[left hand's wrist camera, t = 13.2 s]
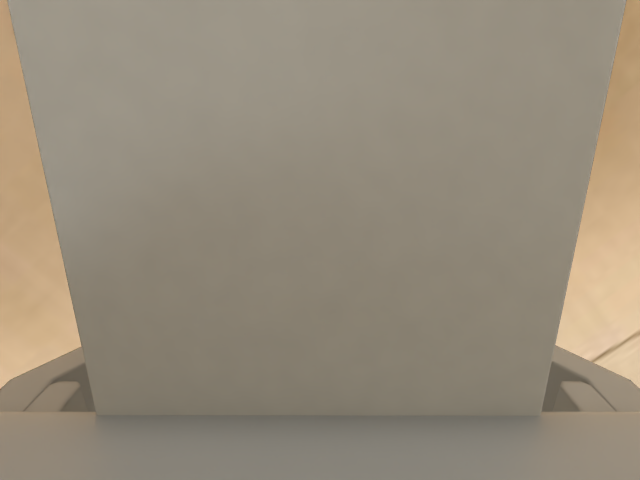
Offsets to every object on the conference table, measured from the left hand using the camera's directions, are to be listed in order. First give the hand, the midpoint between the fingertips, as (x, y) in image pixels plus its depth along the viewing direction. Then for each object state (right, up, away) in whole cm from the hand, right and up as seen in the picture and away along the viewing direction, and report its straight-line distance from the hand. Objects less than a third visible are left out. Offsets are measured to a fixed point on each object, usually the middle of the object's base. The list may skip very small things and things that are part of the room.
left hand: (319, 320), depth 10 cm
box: (0, +10, +5) cm, 11 cm away
